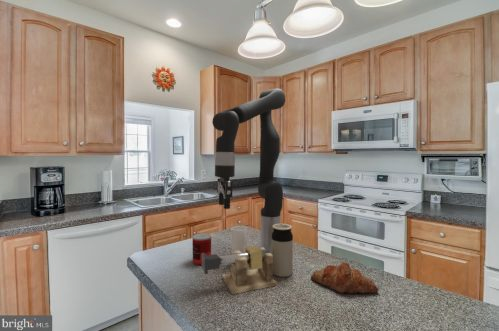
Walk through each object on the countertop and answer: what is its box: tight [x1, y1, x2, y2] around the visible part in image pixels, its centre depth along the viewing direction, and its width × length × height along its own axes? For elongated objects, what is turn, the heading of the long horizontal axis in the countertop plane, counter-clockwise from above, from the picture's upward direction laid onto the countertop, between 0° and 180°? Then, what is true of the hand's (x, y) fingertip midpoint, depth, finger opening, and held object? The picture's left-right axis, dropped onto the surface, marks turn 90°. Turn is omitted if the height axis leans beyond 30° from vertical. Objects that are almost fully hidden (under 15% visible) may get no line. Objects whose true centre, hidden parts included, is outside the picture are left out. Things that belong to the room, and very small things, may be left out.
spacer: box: [246, 245, 262, 270], centre depth 90 cm, size 4×6×6 cm, turn 20°
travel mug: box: [272, 223, 294, 278], centre depth 96 cm, size 8×8×18 cm
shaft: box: [201, 250, 268, 275], centre depth 88 cm, size 23×6×5 cm, turn 110°
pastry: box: [310, 261, 379, 295], centre depth 87 cm, size 17×15×8 cm
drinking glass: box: [230, 225, 248, 253], centre depth 104 cm, size 7×7×15 cm
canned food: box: [192, 232, 212, 266], centre depth 107 cm, size 8×8×11 cm
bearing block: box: [221, 246, 277, 295], centre depth 89 cm, size 16×12×10 cm
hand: (224, 206), depth 96 cm, fingers open, 8 cm apart
